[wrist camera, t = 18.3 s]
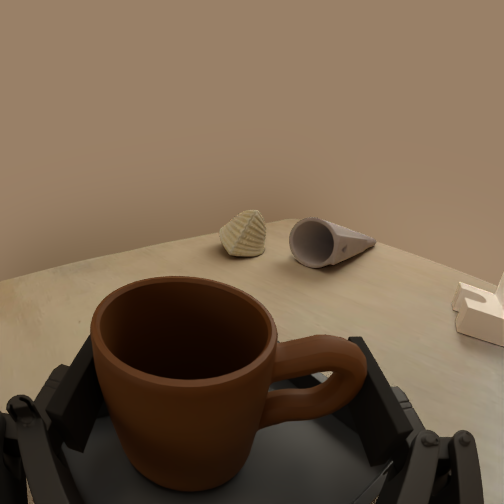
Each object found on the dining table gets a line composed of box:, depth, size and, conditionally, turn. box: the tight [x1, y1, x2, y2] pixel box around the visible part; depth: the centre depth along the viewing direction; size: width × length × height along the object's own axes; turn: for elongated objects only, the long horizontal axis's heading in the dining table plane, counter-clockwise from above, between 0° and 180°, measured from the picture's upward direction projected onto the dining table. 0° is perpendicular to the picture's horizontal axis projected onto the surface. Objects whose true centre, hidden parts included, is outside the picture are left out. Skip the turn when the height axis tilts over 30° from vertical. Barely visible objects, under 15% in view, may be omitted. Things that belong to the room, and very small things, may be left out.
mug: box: [90, 276, 367, 492], centre depth 12 cm, size 12×8×9 cm, turn 89°
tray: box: [33, 341, 393, 504], centre depth 12 cm, size 15×19×3 cm
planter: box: [289, 217, 376, 268], centre depth 54 cm, size 8×9×26 cm
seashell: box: [219, 210, 266, 256], centre depth 48 cm, size 8×8×8 cm
